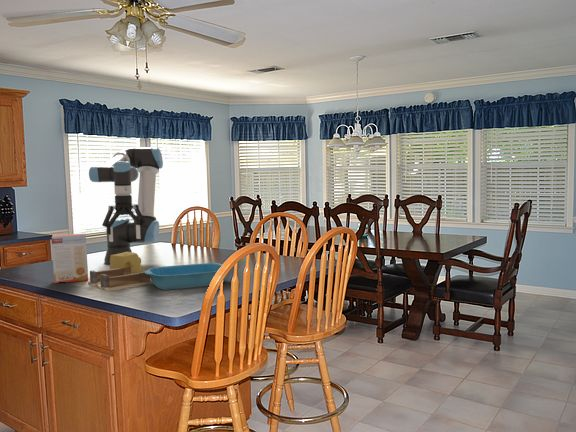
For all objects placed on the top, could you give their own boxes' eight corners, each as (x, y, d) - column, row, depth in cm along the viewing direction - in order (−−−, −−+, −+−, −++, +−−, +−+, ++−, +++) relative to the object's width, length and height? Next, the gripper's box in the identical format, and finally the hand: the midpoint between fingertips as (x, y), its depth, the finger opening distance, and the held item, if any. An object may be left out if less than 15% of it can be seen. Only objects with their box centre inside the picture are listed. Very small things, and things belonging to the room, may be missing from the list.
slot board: (87, 283, 225) (87, 270, 224) (146, 274, 244) (146, 261, 243) (107, 291, 210) (106, 276, 210) (168, 280, 229) (168, 267, 229)
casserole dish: (222, 275, 240) (221, 260, 240) (238, 284, 220) (238, 268, 220) (141, 283, 225) (140, 267, 224) (150, 294, 205) (149, 276, 204)
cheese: (142, 273, 246) (141, 252, 245) (124, 277, 237) (123, 256, 236) (127, 271, 252) (127, 251, 251) (109, 275, 242) (108, 254, 242)
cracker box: (88, 278, 236) (86, 233, 234) (88, 281, 230) (85, 234, 229) (54, 281, 231) (52, 234, 229) (53, 283, 226) (51, 236, 224)
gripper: (100, 196, 230) (102, 243, 231) (151, 194, 247) (153, 238, 248) (93, 195, 235) (95, 242, 237) (143, 193, 252) (145, 236, 254)
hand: (125, 240), depth 243 cm, fingers open, 13 cm apart
